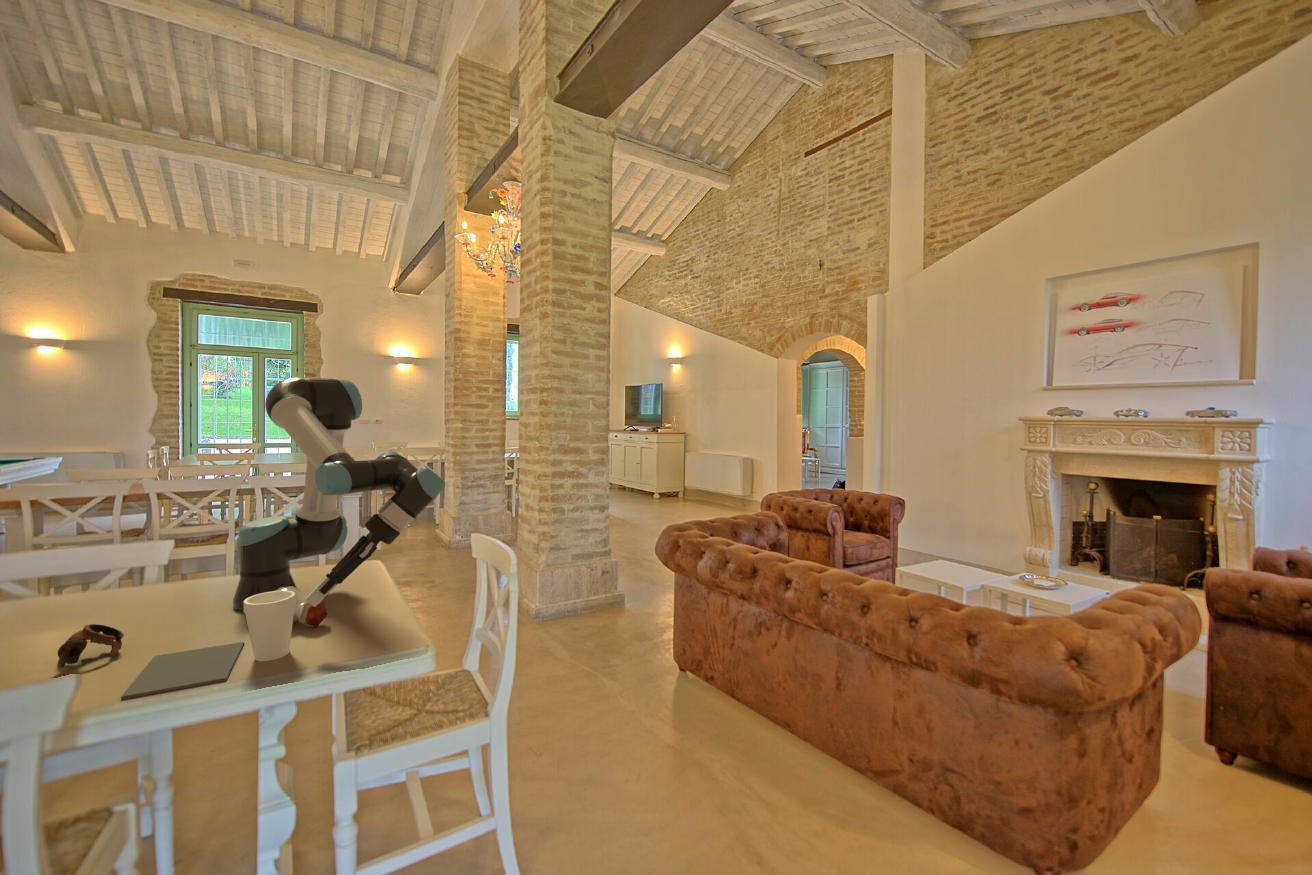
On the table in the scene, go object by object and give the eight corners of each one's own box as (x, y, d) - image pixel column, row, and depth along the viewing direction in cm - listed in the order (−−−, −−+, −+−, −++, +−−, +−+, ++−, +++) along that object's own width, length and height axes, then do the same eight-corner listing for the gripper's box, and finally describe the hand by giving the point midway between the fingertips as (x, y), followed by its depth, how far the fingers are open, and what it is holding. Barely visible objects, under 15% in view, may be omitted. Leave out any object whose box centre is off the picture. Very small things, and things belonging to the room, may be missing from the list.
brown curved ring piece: (73, 655, 128) (97, 619, 130) (115, 671, 129) (139, 635, 131) (29, 664, 116) (57, 625, 118) (76, 681, 117) (103, 642, 120)
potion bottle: (275, 624, 148) (320, 637, 143) (246, 614, 140) (293, 627, 135) (295, 590, 152) (339, 601, 148) (268, 578, 144) (315, 590, 140)
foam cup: (302, 654, 126) (300, 596, 125) (252, 668, 119) (249, 607, 119) (289, 642, 133) (287, 587, 132) (241, 655, 126) (239, 597, 125)
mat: (244, 644, 132) (244, 641, 132) (226, 680, 114) (226, 677, 114) (154, 658, 124) (154, 655, 124) (121, 699, 107) (120, 696, 107)
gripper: (403, 537, 131) (322, 621, 124) (399, 527, 143) (325, 603, 136) (377, 516, 128) (293, 601, 122) (375, 508, 140) (298, 585, 133)
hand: (310, 602), depth 129 cm, fingers closed
